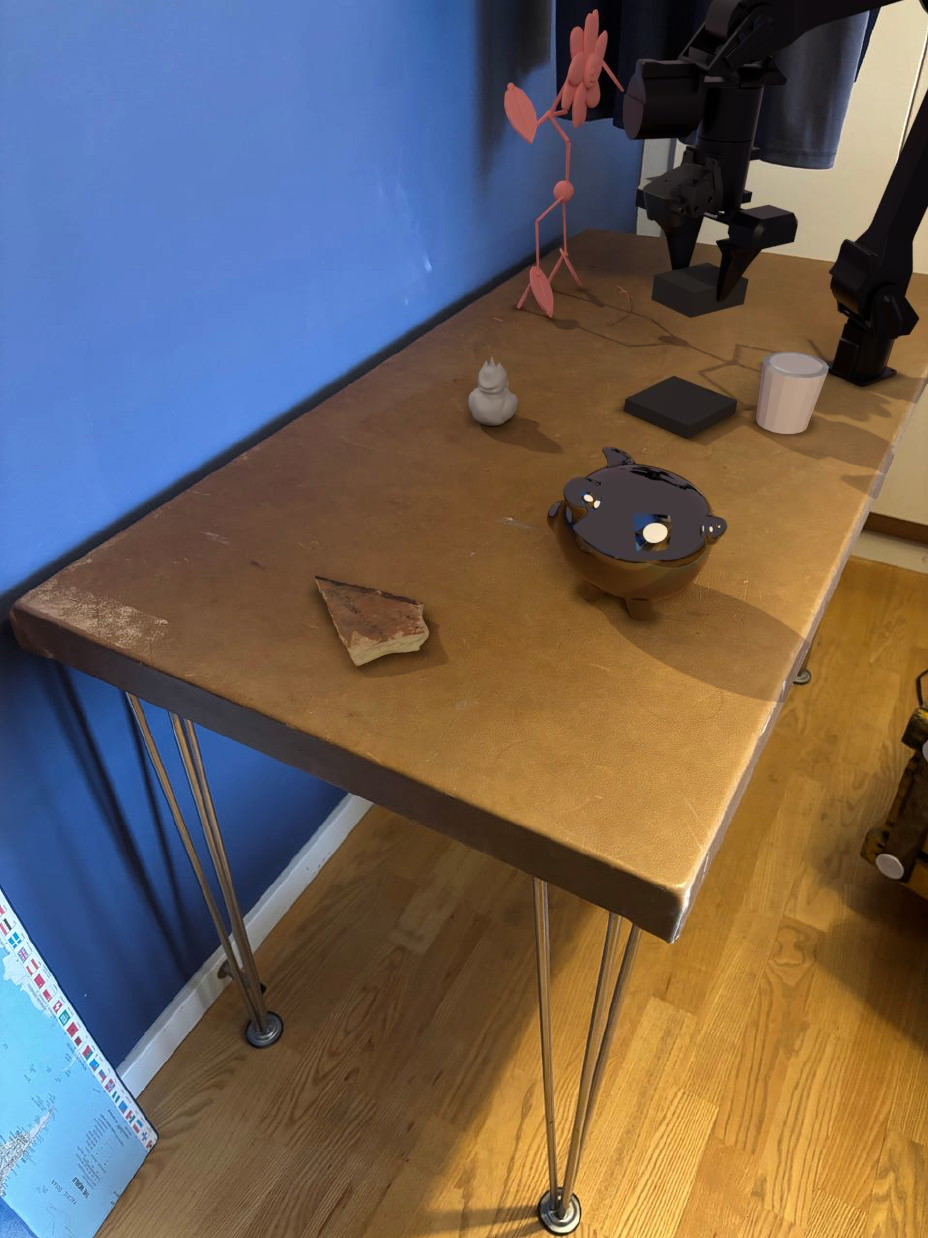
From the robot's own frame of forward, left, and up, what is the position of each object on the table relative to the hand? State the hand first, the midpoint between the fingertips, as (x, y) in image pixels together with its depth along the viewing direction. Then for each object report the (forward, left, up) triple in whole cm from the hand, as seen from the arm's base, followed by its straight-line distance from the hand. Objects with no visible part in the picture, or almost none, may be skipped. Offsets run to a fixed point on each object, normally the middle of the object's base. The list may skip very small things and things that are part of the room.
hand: (699, 290), depth 102 cm
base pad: (+5, +4, -12) cm, 13 cm away
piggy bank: (+32, +26, -12) cm, 43 cm away
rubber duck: (+24, -6, -12) cm, 27 cm away
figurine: (-5, -28, -12) cm, 31 cm away
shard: (+54, +19, -12) cm, 58 cm away
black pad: (0, 0, -1) cm, 1 cm away
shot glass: (-3, +12, -12) cm, 17 cm away
